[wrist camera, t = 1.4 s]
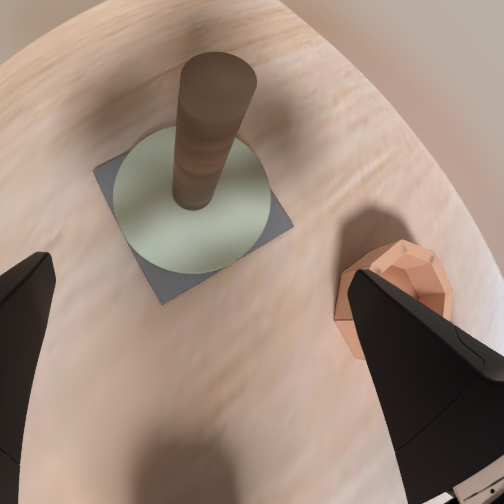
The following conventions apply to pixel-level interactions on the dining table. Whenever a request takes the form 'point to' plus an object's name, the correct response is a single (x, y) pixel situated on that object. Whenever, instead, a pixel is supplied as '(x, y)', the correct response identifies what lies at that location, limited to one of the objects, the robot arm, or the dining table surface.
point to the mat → (172, 282)
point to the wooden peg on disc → (196, 175)
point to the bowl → (397, 283)
